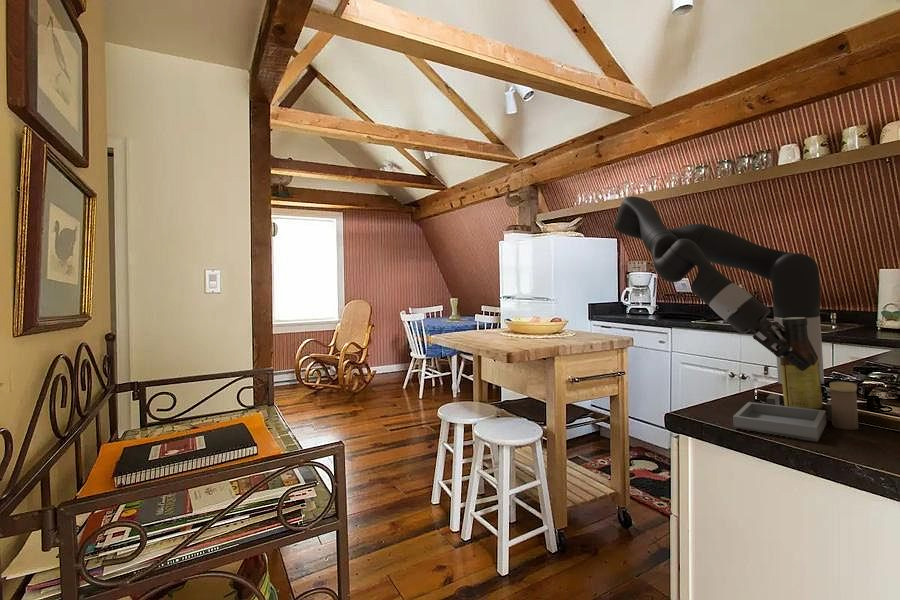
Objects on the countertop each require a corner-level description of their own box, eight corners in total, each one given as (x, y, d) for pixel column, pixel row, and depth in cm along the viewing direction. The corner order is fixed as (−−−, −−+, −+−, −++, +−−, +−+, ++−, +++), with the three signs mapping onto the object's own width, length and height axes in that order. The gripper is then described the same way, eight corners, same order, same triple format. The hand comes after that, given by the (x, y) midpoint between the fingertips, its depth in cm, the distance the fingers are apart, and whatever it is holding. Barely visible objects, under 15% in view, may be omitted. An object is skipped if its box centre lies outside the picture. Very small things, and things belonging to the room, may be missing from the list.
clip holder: (766, 406, 97) (766, 392, 97) (845, 415, 88) (844, 400, 88) (761, 412, 94) (760, 398, 94) (843, 422, 84) (842, 406, 84)
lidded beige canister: (833, 422, 85) (830, 380, 85) (860, 425, 82) (857, 382, 82) (830, 427, 82) (828, 385, 82) (858, 431, 80) (855, 387, 79)
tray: (748, 413, 94) (748, 401, 93) (826, 423, 84) (825, 410, 84) (733, 429, 86) (732, 416, 85) (817, 441, 76) (816, 427, 76)
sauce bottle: (831, 417, 87) (825, 317, 87) (800, 420, 87) (794, 320, 87) (804, 408, 94) (798, 315, 93) (775, 410, 94) (769, 318, 93)
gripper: (734, 316, 104) (800, 370, 96) (715, 323, 94) (787, 384, 86) (759, 293, 100) (831, 346, 92) (742, 298, 90) (821, 358, 82)
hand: (809, 364), depth 89 cm, fingers closed on sauce bottle, 6 cm apart
